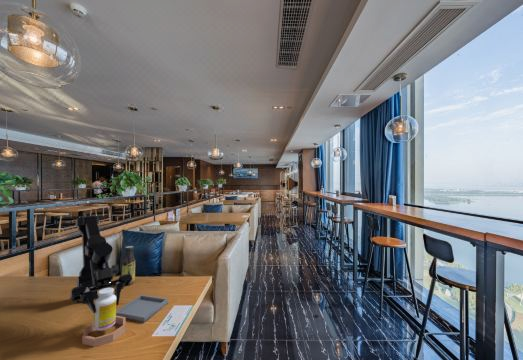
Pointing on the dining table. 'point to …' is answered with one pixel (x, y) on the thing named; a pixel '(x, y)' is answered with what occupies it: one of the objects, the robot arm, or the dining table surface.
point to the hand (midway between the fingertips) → (106, 308)
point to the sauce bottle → (129, 263)
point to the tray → (142, 308)
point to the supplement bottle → (105, 309)
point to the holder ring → (106, 338)
